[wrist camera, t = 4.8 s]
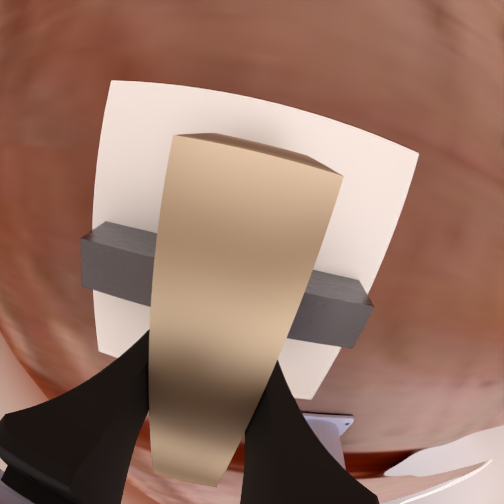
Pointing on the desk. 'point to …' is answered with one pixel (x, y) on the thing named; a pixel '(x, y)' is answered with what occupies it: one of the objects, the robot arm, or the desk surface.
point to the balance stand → (262, 131)
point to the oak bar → (226, 290)
